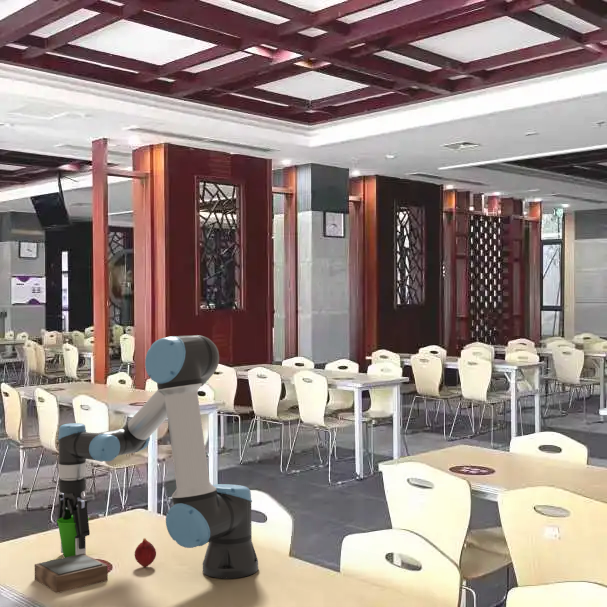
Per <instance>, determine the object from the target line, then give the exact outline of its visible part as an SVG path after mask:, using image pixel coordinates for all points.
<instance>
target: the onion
mask: <svg viewBox="0 0 607 607" xmlns="http://www.w3.org/2000/svg"><path fill="white" fill-rule="evenodd" d="M156 557H157V550H156V548H155V547H154V544H152V543H151V542H150V541H149V540H147V538H145V537H143V539H142V542H140V543H139V544H138V545H137V547H136V548H135V551H134V558H135V559H134V560H135V561H136V562H137V563H138V564H139V565H141V567H143V568H147V567H148V566H150V565H151V564H152V563H153V562H154V561H155V559H156Z"/></svg>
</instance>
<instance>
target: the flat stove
mask: <svg viewBox="0 0 607 607" xmlns="http://www.w3.org/2000/svg"><path fill="white" fill-rule="evenodd" d="M108 567H109V566H108V564H106V563H104V562H102V561H100V560H98V559H97V558H96V559H95V558H94V557H92V556H90V555H87V553H86V554H79V555H74V556H70V557H65V558H64V557H61V558H57V559H53V560H48V561H44V562H38V563H34V580H35V581H37V582H39V583H40V584H42V585H43V586H45V587H46V588H48V589H50V590H52V591H53V592H55V593H56V594H60V593H62V592H66V591H70V590H75V589H78V588H82V587H87V586H90V585H95V584H99V583H103V582H107V581H108V579H109V578H108V576H109V575H108V570H109V568H108Z"/></svg>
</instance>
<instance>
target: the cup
mask: <svg viewBox="0 0 607 607" xmlns="http://www.w3.org/2000/svg"><path fill="white" fill-rule="evenodd" d="M89 520H90V518H89V517H88V521H89ZM57 523H58V526H57V527H58V532H59V538H60V545H61V544H62V550H63V553H62V555H63V558H65V557H70V556H74V555H76V548H75V536H77V533H76V529H75V524H76V523H74V519H73V515H72V516H71V518H70V519H68V520H64V519H63V517H62V518H59V519H58V520H57V519H56V524H57Z"/></svg>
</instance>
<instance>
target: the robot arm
mask: <svg viewBox="0 0 607 607" xmlns="http://www.w3.org/2000/svg"><path fill="white" fill-rule="evenodd" d="M219 353H220V352H219V349H218V347H217V345H216V344H215V343H214V342H213V341H212V340H211V339H210V338H209V337H206V336H203V335H200V334H199V335H198V334H196V335H193V334H192V335H178V336H177V335H176V336H175V335H172V336H167V337H162V338H159V339H157V340H155V341H154V342H153V343H152V344H151V345H150V348H148V350H147V352H146V356H145V359H144V360H145V361H144V364H145V365H144V366H145V371H146V374H147V375H148V377H150V380H151V381H153V382H154V383H156V384H157V390H156V391H155V392H154V393H153V394H152V395H151V396H150V397H149V399H148V400H147V401H146V402H145V403H144V404H143V406H141V407H140V409H139V410H138V411H137V412H136V413H135V414H134V415H133V416H132V417H131V418H130V419H129V421H128V422H127V423H126V424H124V426H122V428H118V429H112V430H108V431H101V432H88V431H87V430H86V425H85V424H84V423H80V422H75V423H73V422H70V423H65V424H62V425H59V428H58V438H57V441H58V478H59V480H58V491H59V494H58V507H57V517H56V518H57V519H56V521H57V520H58V519H59V518H62V517H63V519H64V520H68V519H70V518H71V516H73V519H74V523H76V524H75V529H76V533H77V536H75V548H76V555H79V554H86V555H87V553H86V551H87V550H86V544H87V543H86V537H87V536H90V532H91V531H90V525H89V523H90V522H89V520H88V518H89V514H88V500H87V499H84V500H83V497H82V494H83V492H85V491H86V490H87V479H86V477H85V476H86V474H87V473H86V470H87V464H86V462H87V460H90V461H97V462H101V463H102V462H112V461H114V460H115V459H116V458H117V457H118V456H123V455H128V454H132V453H133V454H135V453H138V452H141V451H143V450H146V449H147V448H148V446H149V442H150V440H151V437H150V436H151V435H153V433H154V432H155V431H156V430H157V429H158V428H159V427H161V425H162V424H163V423H164V422H165V421H166V419H167V425H168V431H169V432H168V433H169V439H170V448H171V454H172V455H171V456H172V461H173V470H174V477H175V485H176V489H175V491H174V492H173V493H172V494H171V499H172V506H171V507H170V508H169V509H168V512H167V513H166V515H165V525H166V526H165V527H166V529H167V532H168V534H169V536H170V538H171V539H172V540H173V541H175V542H176V544H177V545H179V546H180V547H183V548H187V549H195V548H197V547H202V546H205V545H207V543H208V545H207V547H206V551H205V554H204V559H203V560H202V573H203V575H206V576H208V577H211V578H216V579H224V580H225V579H239V578H244V577H248V576H251V575H253V574H256V573H257V572H258V571H259V559H258V557H257V554H256V550H255V546H254V544H253V541H252V540H253V539H252V502H253V500H252V492H251V490H250V488H249V487H247V486H245V485H240V484H239V485H238V484H231V483H230V484H229V483H227V484H226V483H225V484H224V483H220V484H218V483H217V484H212V483H211V482H210V475H209V469H208V461H207V460H208V459H207V453H206V448H205V446H206V445H205V437H204V432H203V431H204V430H203V423H202V417H201V416H202V415H201V409H200V403H199V402H200V401H199V395H198V391H199V389H200V388H201V387H203V386H204V385H205V384H206V383H207V382H208V381H209V380H210V378H211V377H213V375H214V374H215V372H216V370H217V368H218V366H219V364H220V354H219ZM56 526H57V527H59V526H58V523H57V522H56ZM60 553H61V554H63V550H62V544H61V543H60Z"/></svg>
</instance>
